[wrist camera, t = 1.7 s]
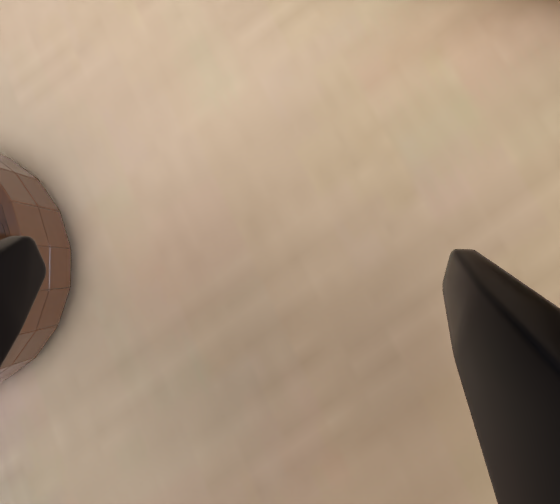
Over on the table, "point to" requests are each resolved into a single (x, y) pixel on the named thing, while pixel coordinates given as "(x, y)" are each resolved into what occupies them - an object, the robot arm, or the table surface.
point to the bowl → (53, 248)
